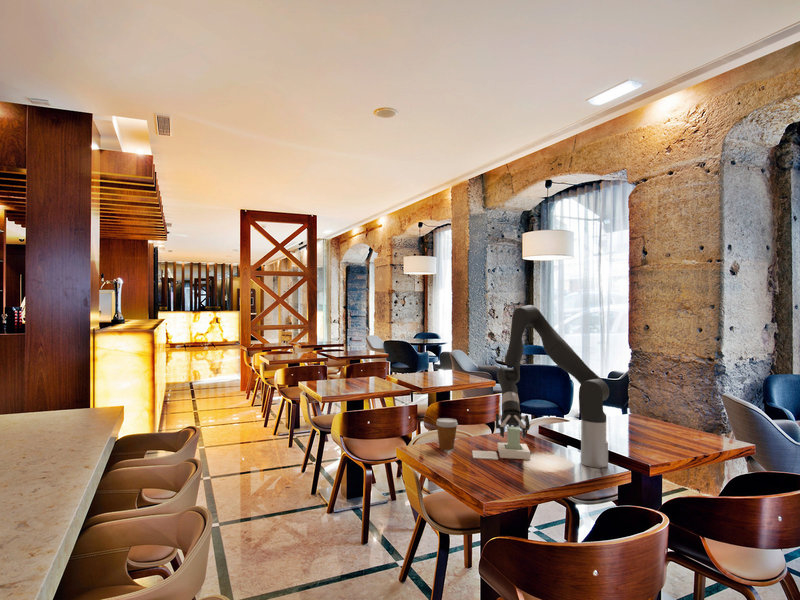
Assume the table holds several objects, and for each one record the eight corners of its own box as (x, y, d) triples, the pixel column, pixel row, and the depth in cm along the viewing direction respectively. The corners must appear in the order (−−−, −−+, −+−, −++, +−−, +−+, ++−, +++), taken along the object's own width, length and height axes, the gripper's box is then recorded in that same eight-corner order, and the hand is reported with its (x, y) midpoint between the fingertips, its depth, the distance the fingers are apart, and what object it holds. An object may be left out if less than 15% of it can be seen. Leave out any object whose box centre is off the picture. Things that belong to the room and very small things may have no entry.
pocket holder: (525, 450, 200) (526, 443, 200) (530, 459, 188) (530, 451, 188) (497, 449, 201) (497, 442, 201) (500, 457, 189) (500, 450, 189)
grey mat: (496, 452, 196) (496, 451, 196) (498, 459, 186) (498, 458, 186) (472, 451, 198) (472, 450, 198) (473, 458, 188) (473, 457, 188)
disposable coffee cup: (447, 452, 195) (447, 423, 196) (431, 447, 202) (431, 419, 203) (462, 448, 202) (462, 420, 202) (445, 443, 209) (446, 416, 209)
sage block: (518, 453, 196) (518, 426, 197) (519, 456, 192) (519, 429, 192) (507, 452, 197) (507, 426, 197) (508, 455, 193) (508, 428, 193)
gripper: (495, 399, 205) (496, 431, 194) (528, 400, 203) (531, 433, 192) (493, 408, 210) (495, 440, 199) (526, 410, 209) (529, 442, 197)
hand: (513, 437), depth 195 cm, fingers open, 8 cm apart
